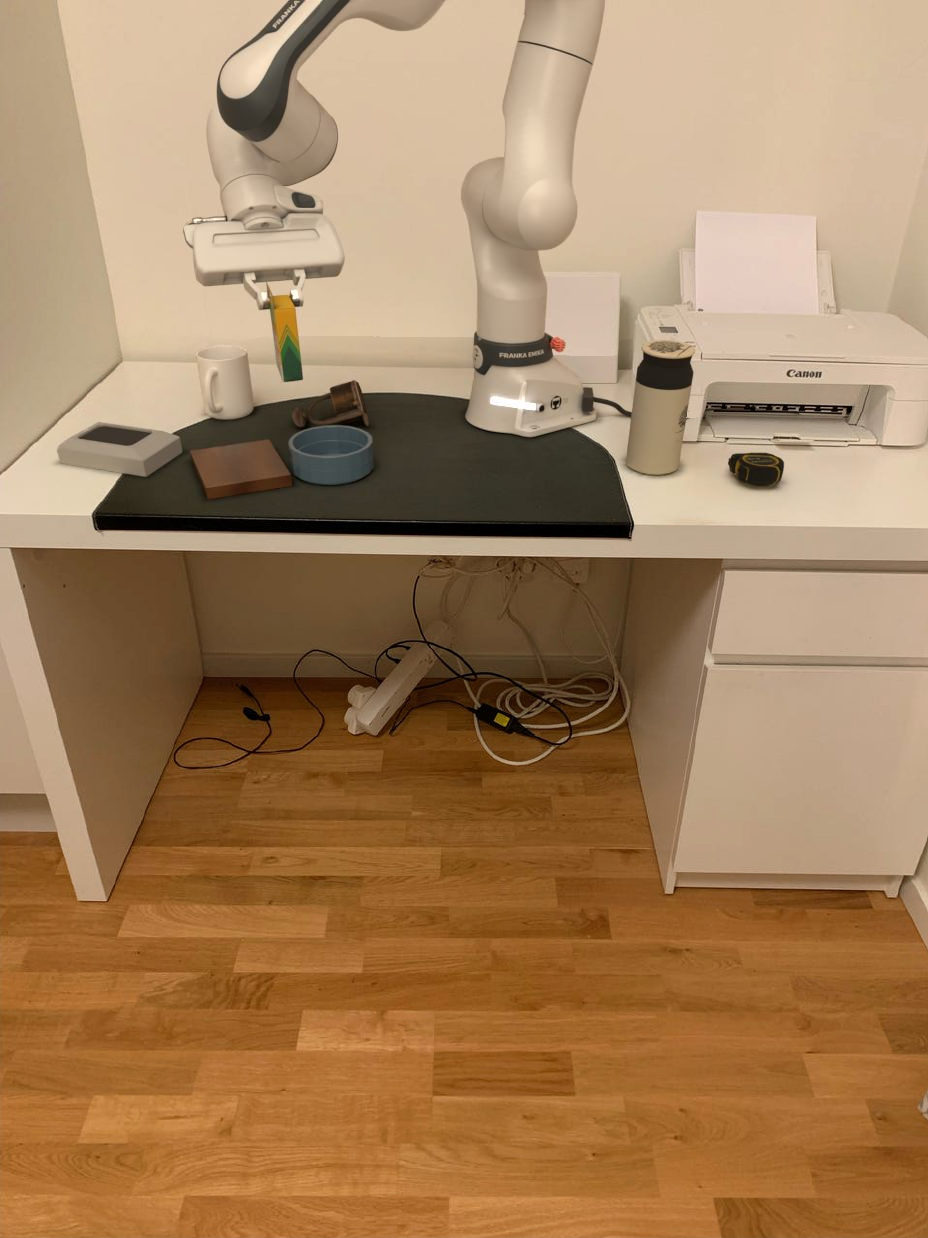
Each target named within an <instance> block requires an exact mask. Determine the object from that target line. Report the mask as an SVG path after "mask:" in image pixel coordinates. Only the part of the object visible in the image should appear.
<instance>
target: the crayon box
mask: <svg viewBox="0 0 928 1238" xmlns="http://www.w3.org/2000/svg"><path fill="white" fill-rule="evenodd" d="M265 285H266V292H268V295H269V299H270V303H271V305H270V309H269V314H270V321H271V329H272V337H273V338H272V339H273V346H274V353H275V361H276V367H277V370H278V372H279V376H280V378H281V381H282V383H288V382H299V381H303V380H304V374H303V365H302V355H301V348H300V339H299V332H298V331H299V329H298V321H297V311H296V307H295V306H294V304H293V302H292V300H291V299H290V297H289V294H277V295H273V293H272V290H271V288H270V286H269V284H268V282H265Z"/></svg>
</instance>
